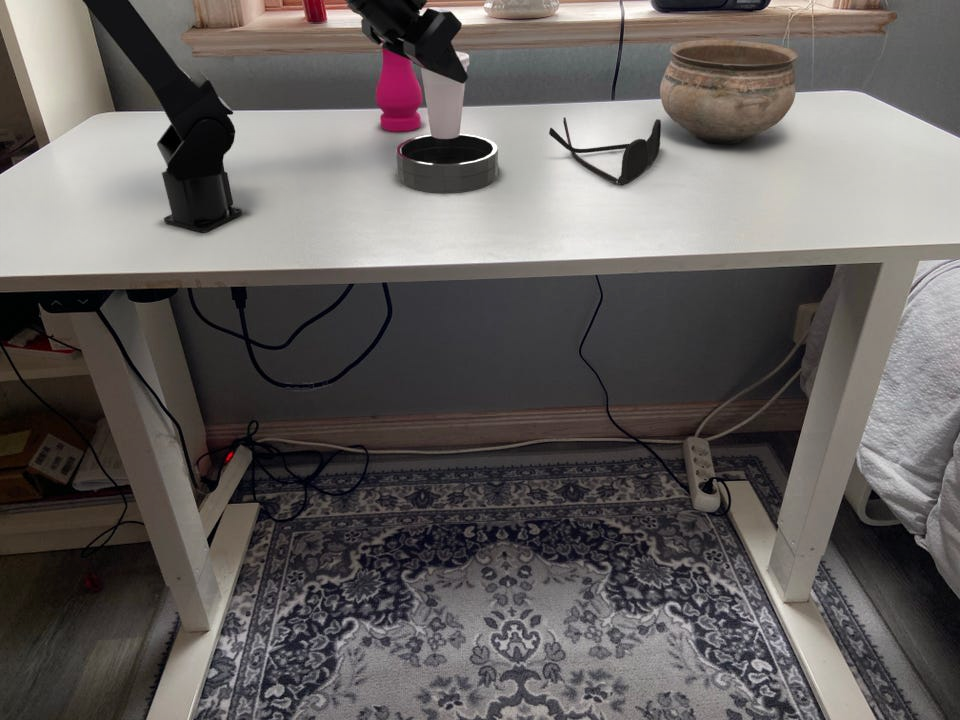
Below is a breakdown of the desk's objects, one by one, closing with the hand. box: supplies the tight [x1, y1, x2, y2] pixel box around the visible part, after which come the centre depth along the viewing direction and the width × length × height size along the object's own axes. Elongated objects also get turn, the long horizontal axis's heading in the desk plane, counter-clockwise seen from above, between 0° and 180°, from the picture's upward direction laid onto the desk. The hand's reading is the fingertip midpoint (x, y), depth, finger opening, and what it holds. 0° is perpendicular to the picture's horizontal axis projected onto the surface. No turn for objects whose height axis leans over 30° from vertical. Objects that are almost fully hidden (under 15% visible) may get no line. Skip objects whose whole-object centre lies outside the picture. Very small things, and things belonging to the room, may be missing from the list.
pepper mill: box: [375, 37, 423, 133], centre depth 114 cm, size 7×7×20 cm
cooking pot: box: [659, 39, 799, 145], centre depth 110 cm, size 25×19×12 cm
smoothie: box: [420, 50, 470, 139], centre depth 93 cm, size 6×6×14 cm
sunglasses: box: [548, 116, 662, 185], centre depth 103 cm, size 17×14×5 cm
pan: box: [395, 133, 499, 194], centre depth 99 cm, size 13×13×4 cm
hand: (454, 74), depth 94 cm, fingers closed on smoothie, 6 cm apart
